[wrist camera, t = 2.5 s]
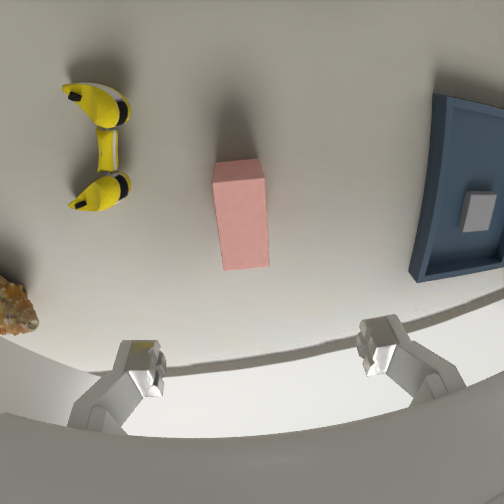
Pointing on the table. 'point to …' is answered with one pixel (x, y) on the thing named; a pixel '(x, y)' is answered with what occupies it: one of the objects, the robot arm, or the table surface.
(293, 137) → the table surface
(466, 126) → the tray
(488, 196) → the felt pad
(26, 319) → the seashell
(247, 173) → the eraser
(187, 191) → the table surface
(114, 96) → the game controller
